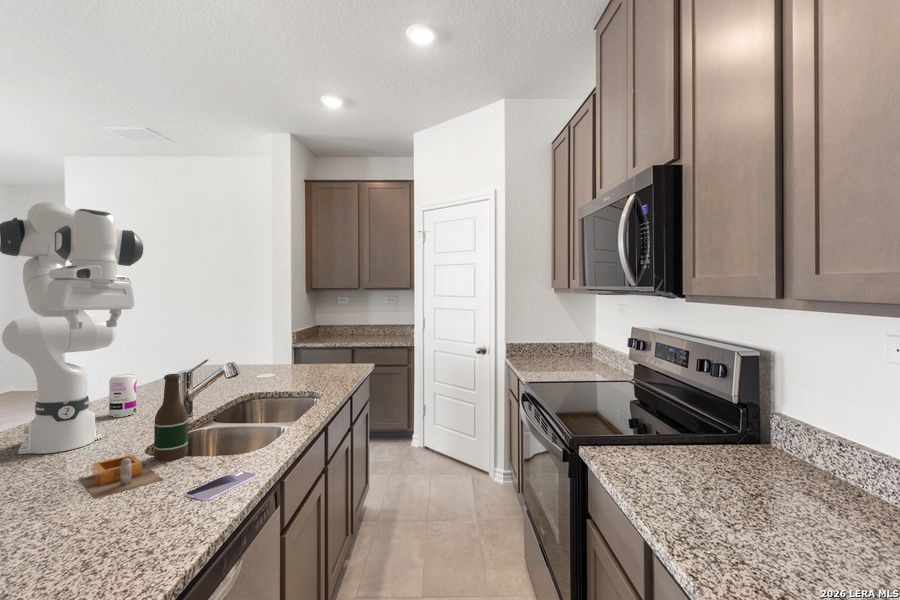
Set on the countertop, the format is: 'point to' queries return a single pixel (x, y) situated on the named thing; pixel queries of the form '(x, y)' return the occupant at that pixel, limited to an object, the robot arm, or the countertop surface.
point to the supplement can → (122, 395)
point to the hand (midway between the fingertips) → (94, 328)
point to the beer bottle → (171, 423)
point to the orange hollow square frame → (114, 469)
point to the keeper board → (116, 484)
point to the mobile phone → (220, 486)
